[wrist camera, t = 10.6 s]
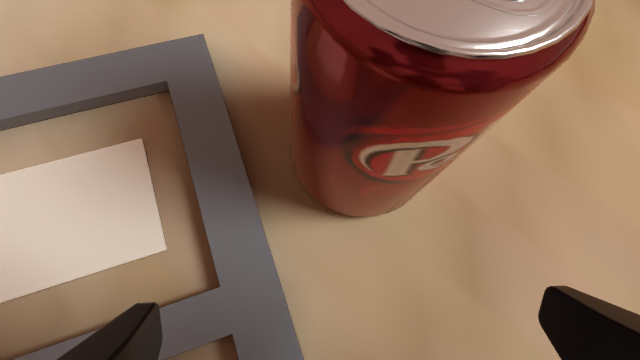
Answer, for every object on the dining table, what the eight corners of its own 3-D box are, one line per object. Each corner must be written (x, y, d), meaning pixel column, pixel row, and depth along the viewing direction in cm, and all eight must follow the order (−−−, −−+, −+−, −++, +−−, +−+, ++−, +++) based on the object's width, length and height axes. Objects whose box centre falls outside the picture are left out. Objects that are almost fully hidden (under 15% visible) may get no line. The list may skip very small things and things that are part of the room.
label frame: (378, 600, 13) (384, 617, 12) (-137, 890, 10) (-171, 937, 9) (206, 43, 21) (203, 33, 20) (-117, 114, 18) (-135, 105, 17)
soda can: (261, 148, 19) (220, -92, 8) (356, 73, 21) (436, -201, 10) (358, 250, 17) (486, 144, 6) (450, 159, 20) (672, -44, 8)
